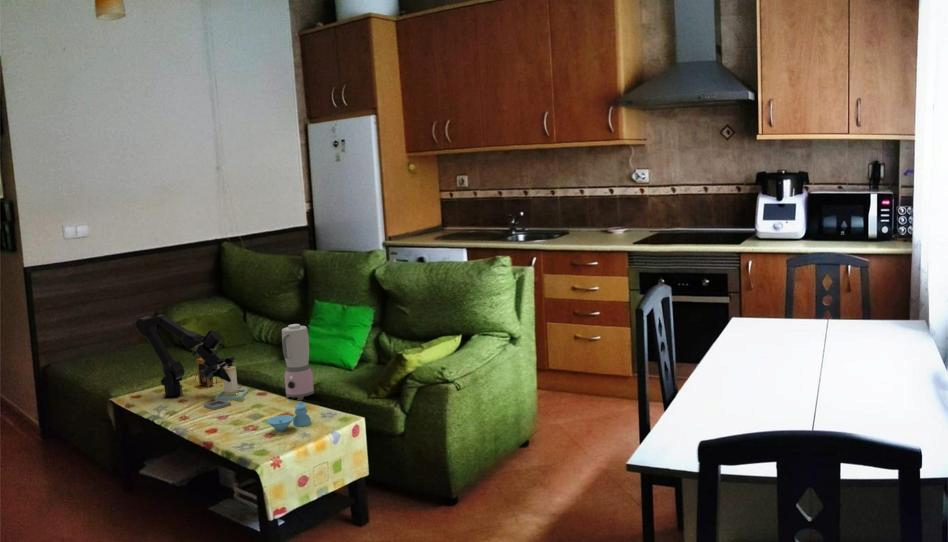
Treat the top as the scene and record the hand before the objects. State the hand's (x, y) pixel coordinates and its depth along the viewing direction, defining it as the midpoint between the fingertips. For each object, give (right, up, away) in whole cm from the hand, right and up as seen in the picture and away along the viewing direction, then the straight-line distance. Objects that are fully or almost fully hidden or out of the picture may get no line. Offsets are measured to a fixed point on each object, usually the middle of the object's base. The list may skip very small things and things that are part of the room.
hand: (232, 380), depth 365 cm
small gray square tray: (-3, -10, -12) cm, 16 cm away
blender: (+30, -7, -4) cm, 31 cm away
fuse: (-1, -6, +1) cm, 6 cm away
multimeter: (-18, -6, +27) cm, 32 cm away
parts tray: (-1, -8, +1) cm, 8 cm away
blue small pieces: (+36, -13, -46) cm, 59 cm away
